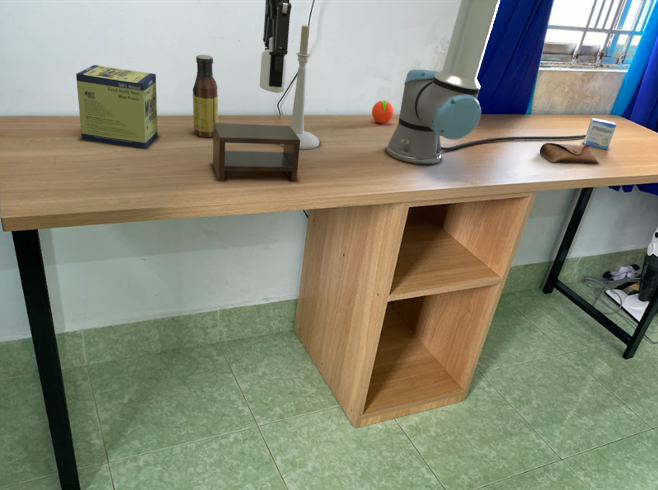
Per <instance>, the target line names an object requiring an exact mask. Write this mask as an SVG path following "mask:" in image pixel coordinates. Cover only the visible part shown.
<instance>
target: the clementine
mask: <svg viewBox="0 0 658 490" xmlns="http://www.w3.org/2000/svg"><path fill="white" fill-rule="evenodd" d="M394 112H395V111H394V107H393V105H392V104H391V103H390V102H389V101H386V100H379V101H377V102H375V104H373V106H372V109H371V115H372V116H371V117H372V118H373V120H374V121H375V122H376V123H379V124H381V125H382V124H387V123H389V122H390V121H391V120H393V119H392V118H393V116H394Z"/></svg>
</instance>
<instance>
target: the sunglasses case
mask: <svg viewBox="0 0 658 490" xmlns="http://www.w3.org/2000/svg"><path fill="white" fill-rule="evenodd" d="M539 154H540V156H541V157H543V158H544V159H545V160H547V161H549V162H551V163H569V164H586V165H587V164H589V165H590V164H600V162H599V161H598V160H597V157H596V155H594V153H593V151H592V150H591V147H590V146H589V145H585V144H584V145H583V144H570V143H569V144H567V143H556V142H546V143H544V144H542V145H541V146H540V148H539Z"/></svg>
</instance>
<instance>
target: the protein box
mask: <svg viewBox="0 0 658 490" xmlns="http://www.w3.org/2000/svg"><path fill="white" fill-rule="evenodd" d="M75 75H76V77H75V78H76V79H75V80H76V90H77V102H78V110H79V121H80V122H79V123H80V136H81V139H82V140H84V141H90V142H98V143H105V144H111V145H117V146H125V147H133V148H138V149H146V148H147V147H148V146H149V145H150V144H152V143H153V141H155V139H157V138H158V137H159V133H158V131H159V130H158V102H157V74H156V73H152V72H144V71H137V70H130V69H123V68H118V67H112V66H111V67H110V66H104V65H97V64H93V65H91V66H89V67H88V68H85V69H83V70H81V71H79V72H77V73H76V74H75Z"/></svg>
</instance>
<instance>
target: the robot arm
mask: <svg viewBox="0 0 658 490" xmlns="http://www.w3.org/2000/svg"><path fill="white" fill-rule="evenodd" d="M500 1H501V0H461V1H460V4H459V7H458V11H457V15H456V19H455V22H454V25H453V31H452V33H451V37H450V40H449V44H448V47H447V52H446V56H445V59H444V63H443V66H442V68H441V70H439V71H437V70H428V69H411V70H409V71H408V72H407V74H406V78H405V81H404V86H403V93H402V99H401V105H400V111H399V117H398V123H397V126H396V128H395V130H394V132H393V133H392V135H391V137H390V139H389V142H388V144H387V148H386V152H387V154H388V155H390V156H391V157H392V158H394V159H397V160H399V161H402V162H406V163H409V164H415V165H434V164H438V163H439V162H441V158H442V151H444V152H445V151H446V152H449V151H454V150H457V149H460V148H464V147H468V146H473V145H477V144H483V143H489V142H500V141H515V140H516V141H517V140H570V139H571V140H573V139H574V140H575V139H585V136H586V134H580V135H578V134H577V135H558V136H557V135H556V136H555V135H554V136H553V135H551V136H550V135H549V136H546V135H545V136H501V137H491V138H484V139H483V138H482V139H478V140H473V141H468V142H464V143H459V144H456V145H453V146H449V147H446V146H442V145H441V137H443V138H444V139H446V140H450V141H454V140H460V139H463V138H465V137H466V136H467V135H469V134H471V133H472V132H473V131H474V130H475V129H476V128H477V126H478V124H479V122H480V119H481V116H482V108H481V106H480V103H479V101H478V100H477V99H478V96H479V93H480V89H481V85H480V83H479V81H478V79H477V78H478V74H479V73H480V72H479V71H480V69H481V65H482V61H483V58H484V55H485V51H486V48H487V44H488V41H489V38H490V34H491V31H492V29H493V24H494V21H495V19H496V14H497V12H498V8H499V5H500ZM264 5H265V6H264V7H265V8H264V9H265V10H264V21H263V36H262V42H263V43H264V44H263V45H264V47H265V48H264V50H267V49H270V48H269V39H270V38H271V37H273V47H272V52H269V55H271V59H270V74H269V87H282V78H283V65H284V56H287V54H288V50H289V49H288V48H289V35H290V22H291V21H290V19H291V12H292V8H293V7H292V3H291V2H290V0H265V4H264Z"/></svg>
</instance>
